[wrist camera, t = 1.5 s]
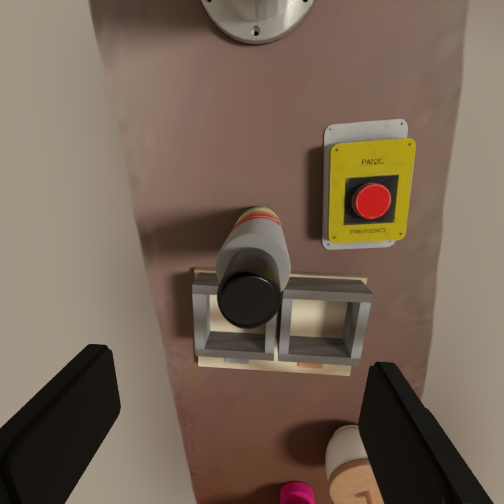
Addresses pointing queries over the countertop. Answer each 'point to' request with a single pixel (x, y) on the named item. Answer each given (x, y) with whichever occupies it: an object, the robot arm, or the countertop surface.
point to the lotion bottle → (252, 269)
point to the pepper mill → (296, 493)
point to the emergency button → (366, 183)
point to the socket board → (287, 326)
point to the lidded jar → (350, 469)
